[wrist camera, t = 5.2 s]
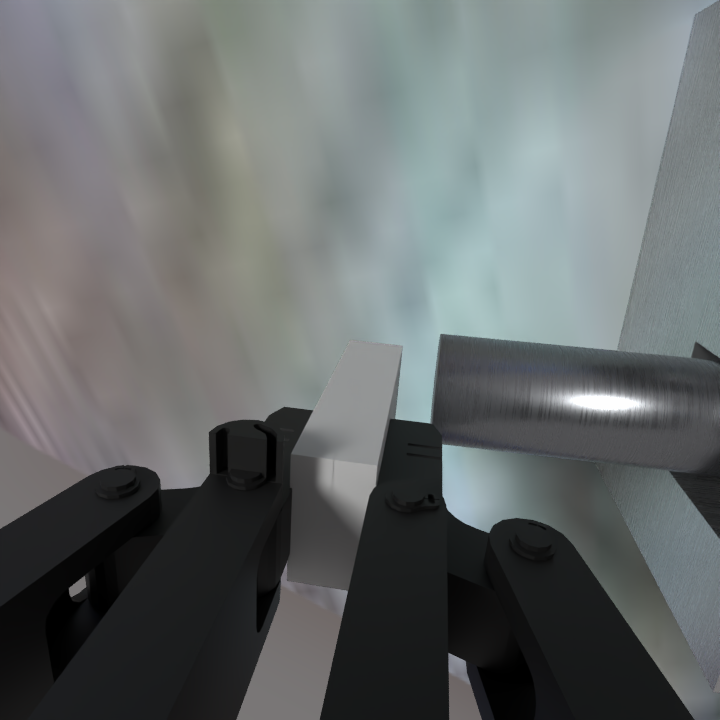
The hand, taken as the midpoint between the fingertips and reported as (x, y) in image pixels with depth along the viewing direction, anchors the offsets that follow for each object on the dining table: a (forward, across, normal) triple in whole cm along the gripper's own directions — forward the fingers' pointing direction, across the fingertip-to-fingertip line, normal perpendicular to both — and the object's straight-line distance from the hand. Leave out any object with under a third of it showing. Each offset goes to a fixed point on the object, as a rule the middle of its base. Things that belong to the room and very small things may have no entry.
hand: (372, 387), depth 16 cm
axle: (+1, +10, 0) cm, 10 cm away
